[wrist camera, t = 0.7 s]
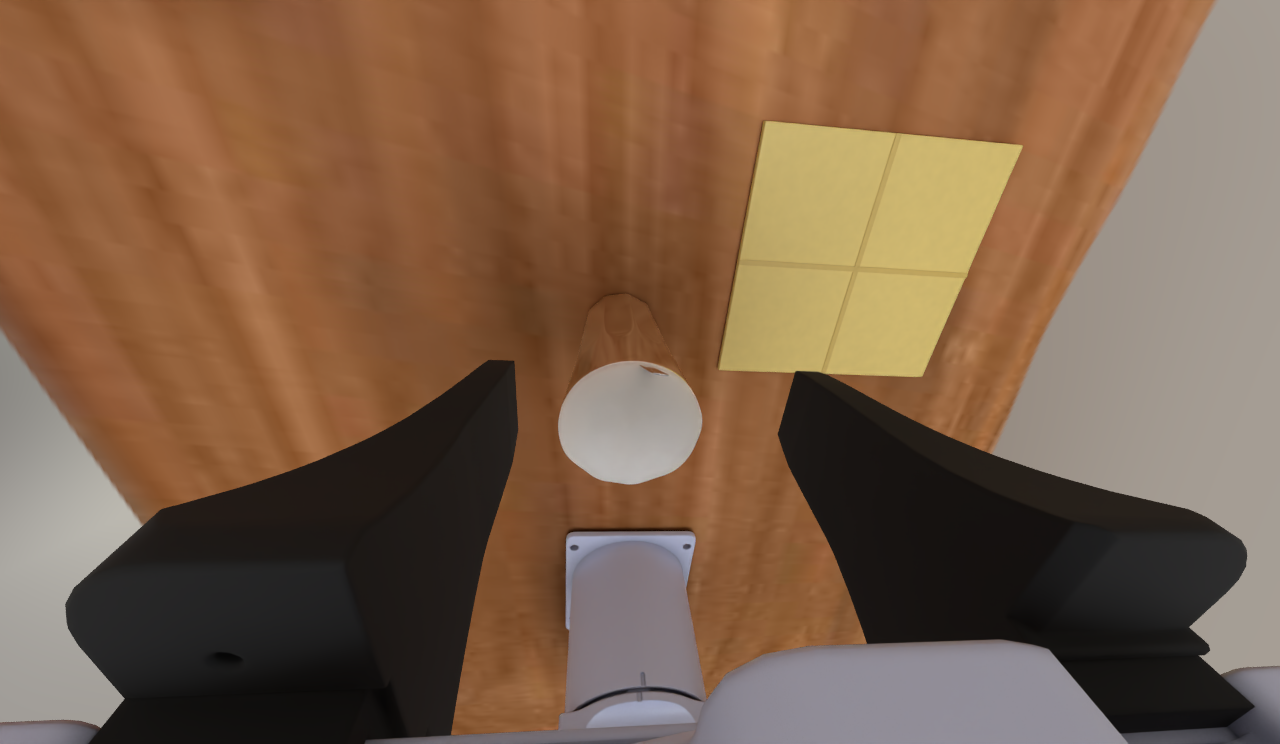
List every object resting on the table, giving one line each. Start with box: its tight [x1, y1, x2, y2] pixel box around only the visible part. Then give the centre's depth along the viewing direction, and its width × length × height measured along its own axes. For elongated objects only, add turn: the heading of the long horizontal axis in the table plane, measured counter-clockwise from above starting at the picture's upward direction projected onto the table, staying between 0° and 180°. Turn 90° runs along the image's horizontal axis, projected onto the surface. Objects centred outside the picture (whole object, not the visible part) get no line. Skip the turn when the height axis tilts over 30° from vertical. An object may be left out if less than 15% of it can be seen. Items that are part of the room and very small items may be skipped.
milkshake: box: [558, 293, 702, 484], centre depth 17 cm, size 5×5×10 cm
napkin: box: [718, 121, 1023, 377], centre depth 21 cm, size 11×11×1 cm
